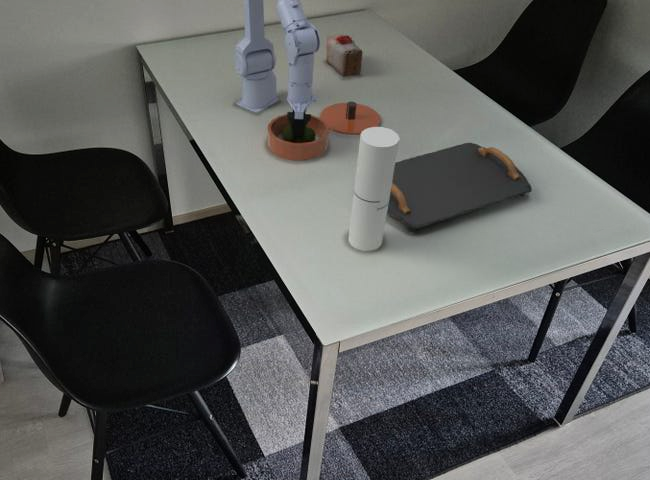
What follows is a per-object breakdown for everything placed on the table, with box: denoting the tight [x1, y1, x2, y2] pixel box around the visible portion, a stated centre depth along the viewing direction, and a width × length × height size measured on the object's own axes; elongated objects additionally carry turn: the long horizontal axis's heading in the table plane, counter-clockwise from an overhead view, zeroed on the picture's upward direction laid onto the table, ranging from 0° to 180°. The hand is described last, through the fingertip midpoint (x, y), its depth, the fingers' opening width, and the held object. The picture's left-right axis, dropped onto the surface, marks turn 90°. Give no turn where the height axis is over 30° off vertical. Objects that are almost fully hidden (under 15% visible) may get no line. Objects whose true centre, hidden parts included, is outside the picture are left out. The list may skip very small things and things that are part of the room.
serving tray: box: [387, 142, 533, 233], centre depth 147 cm, size 39×23×6 cm, turn 117°
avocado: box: [282, 125, 317, 143], centre depth 160 cm, size 8×5×5 cm, turn 88°
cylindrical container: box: [348, 126, 400, 252], centre depth 127 cm, size 7×7×25 cm
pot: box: [267, 113, 330, 162], centre depth 160 cm, size 15×15×5 cm
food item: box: [325, 33, 363, 78], centre depth 192 cm, size 14×8×10 cm, turn 23°
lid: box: [319, 101, 381, 136], centre depth 170 cm, size 16×16×5 cm
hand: (298, 130), depth 159 cm, fingers open, 7 cm apart
